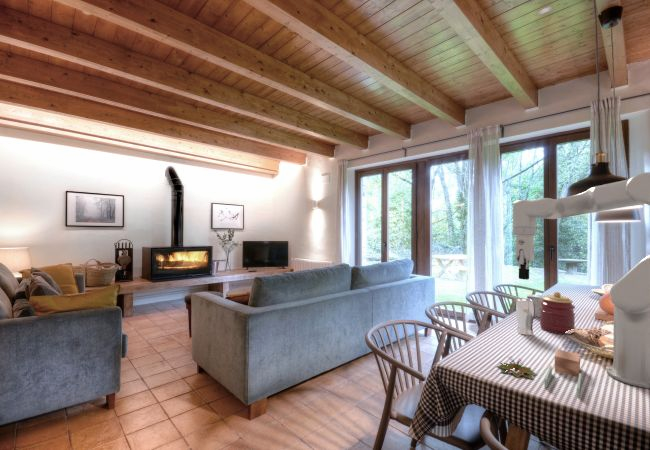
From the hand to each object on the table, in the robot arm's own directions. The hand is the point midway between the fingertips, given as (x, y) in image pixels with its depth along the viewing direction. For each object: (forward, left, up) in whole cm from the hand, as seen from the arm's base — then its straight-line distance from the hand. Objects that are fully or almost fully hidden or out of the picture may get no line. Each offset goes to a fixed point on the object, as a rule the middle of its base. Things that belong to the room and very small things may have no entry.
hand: (523, 278), depth 118 cm
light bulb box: (+3, -61, -27) cm, 67 cm away
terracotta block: (-14, +10, -27) cm, 32 cm away
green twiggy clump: (-2, +23, -28) cm, 36 cm away
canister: (-7, -38, -27) cm, 47 cm away
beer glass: (+3, -22, -27) cm, 35 cm away
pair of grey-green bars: (-14, +24, -27) cm, 39 cm away
